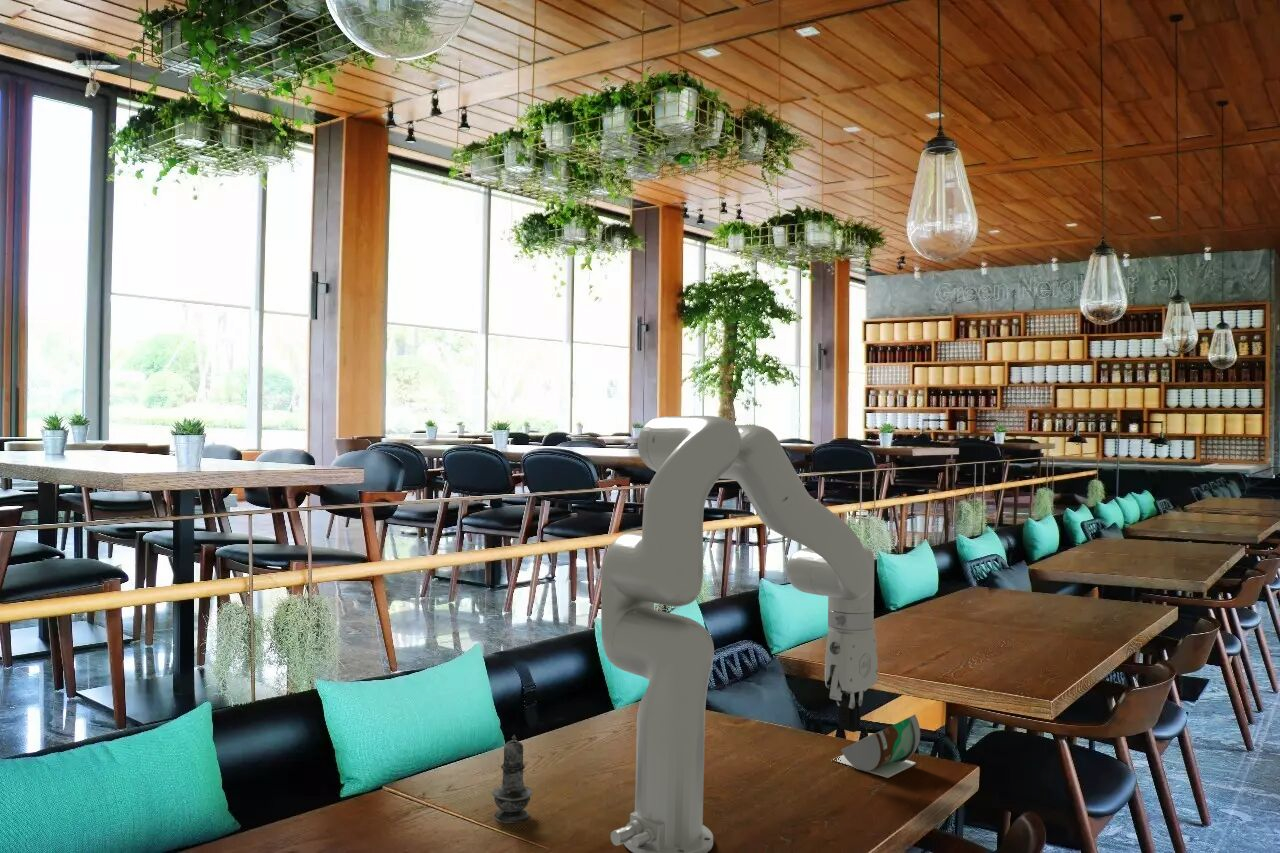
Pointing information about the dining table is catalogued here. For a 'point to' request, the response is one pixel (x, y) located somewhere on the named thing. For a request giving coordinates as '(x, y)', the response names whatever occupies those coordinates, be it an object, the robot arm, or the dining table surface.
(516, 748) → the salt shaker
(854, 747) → the food container
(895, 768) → the mat
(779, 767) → the dining table surface
